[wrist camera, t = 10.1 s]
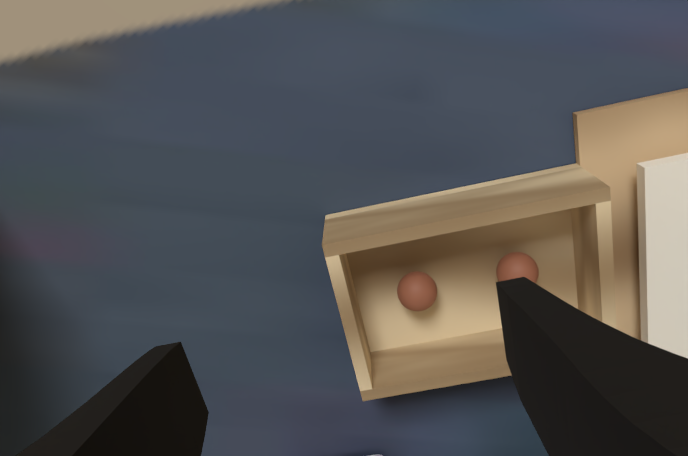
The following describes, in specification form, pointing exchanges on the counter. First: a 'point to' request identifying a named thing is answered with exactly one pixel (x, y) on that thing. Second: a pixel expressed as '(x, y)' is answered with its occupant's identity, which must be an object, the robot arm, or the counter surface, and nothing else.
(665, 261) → the lid
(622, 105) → the mat
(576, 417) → the robot arm
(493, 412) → the counter surface
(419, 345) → the box
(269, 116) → the counter surface
